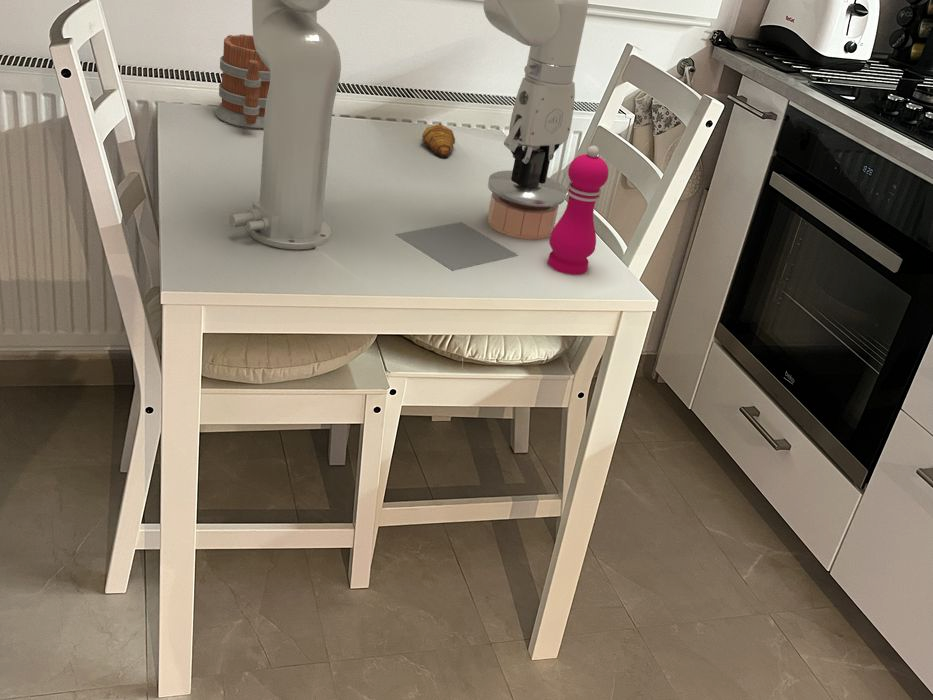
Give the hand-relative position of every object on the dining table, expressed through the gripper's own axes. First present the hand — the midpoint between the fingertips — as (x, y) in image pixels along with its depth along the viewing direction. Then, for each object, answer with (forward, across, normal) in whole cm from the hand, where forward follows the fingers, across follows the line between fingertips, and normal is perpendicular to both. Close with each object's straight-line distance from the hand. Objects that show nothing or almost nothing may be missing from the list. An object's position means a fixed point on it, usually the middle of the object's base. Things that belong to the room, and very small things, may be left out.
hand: (528, 181), depth 165 cm
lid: (+2, 0, 0) cm, 2 cm away
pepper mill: (+9, -4, -15) cm, 18 cm away
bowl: (+8, 0, 0) cm, 8 cm away
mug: (+9, -16, +60) cm, 63 cm away
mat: (+8, -16, -2) cm, 18 cm away
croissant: (+9, +13, +37) cm, 40 cm away
